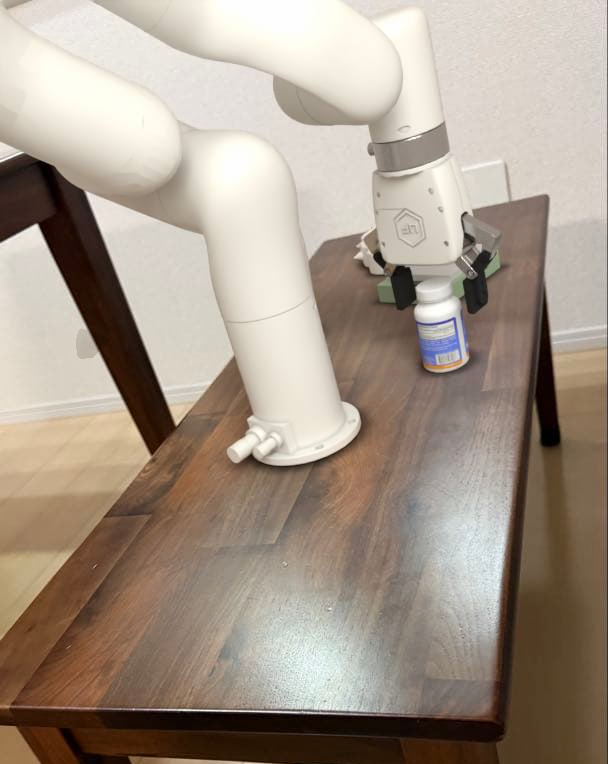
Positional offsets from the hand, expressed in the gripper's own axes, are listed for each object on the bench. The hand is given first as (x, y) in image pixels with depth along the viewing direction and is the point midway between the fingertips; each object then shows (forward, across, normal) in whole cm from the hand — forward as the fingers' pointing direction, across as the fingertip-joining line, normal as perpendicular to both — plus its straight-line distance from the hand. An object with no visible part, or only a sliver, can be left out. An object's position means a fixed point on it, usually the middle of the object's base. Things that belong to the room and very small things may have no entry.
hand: (441, 307), depth 95 cm
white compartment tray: (+7, -31, +32) cm, 45 cm away
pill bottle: (+7, 0, -1) cm, 7 cm away
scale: (+7, -16, +21) cm, 27 cm away
